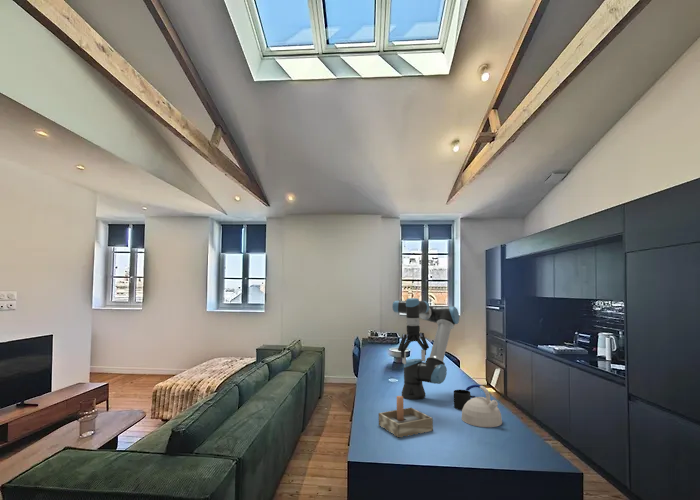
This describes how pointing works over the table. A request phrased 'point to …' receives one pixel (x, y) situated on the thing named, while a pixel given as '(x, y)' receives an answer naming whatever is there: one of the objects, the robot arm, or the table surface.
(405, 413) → the box
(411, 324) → the robot arm
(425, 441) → the table surface
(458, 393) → the mug
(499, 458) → the table surface
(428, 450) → the table surface
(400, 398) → the peg
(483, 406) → the kettle
